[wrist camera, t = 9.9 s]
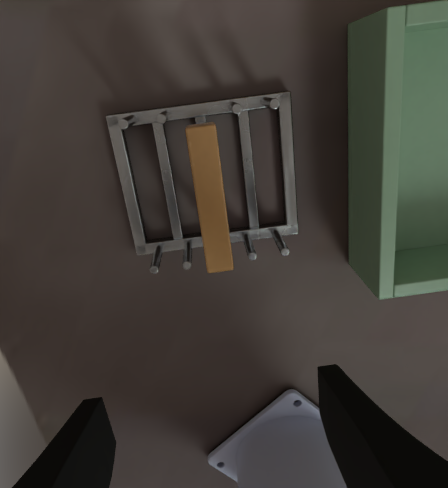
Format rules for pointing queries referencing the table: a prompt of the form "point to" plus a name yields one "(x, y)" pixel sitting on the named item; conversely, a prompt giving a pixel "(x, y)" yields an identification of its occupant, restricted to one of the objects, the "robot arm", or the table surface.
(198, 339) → the table surface
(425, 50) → the green open tray
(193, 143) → the dish rack
